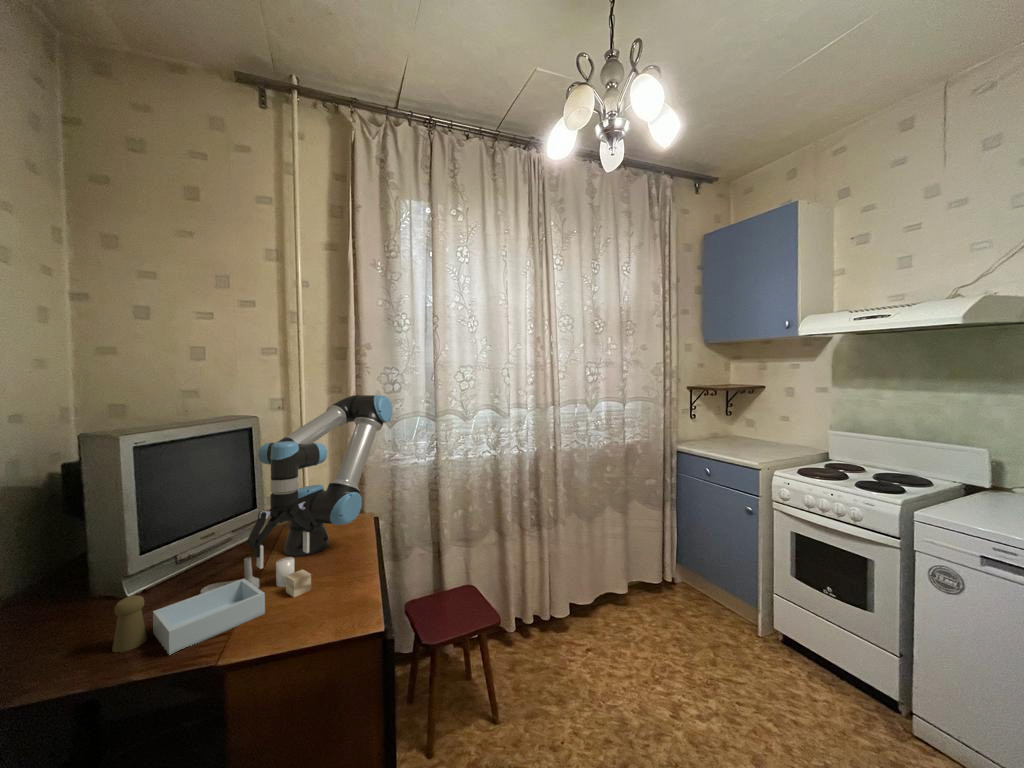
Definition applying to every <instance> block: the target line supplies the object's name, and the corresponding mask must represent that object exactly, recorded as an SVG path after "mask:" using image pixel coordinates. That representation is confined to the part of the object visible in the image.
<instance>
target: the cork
mask: <svg viewBox="0 0 1024 768" xmlns="http://www.w3.org/2000/svg"><path fill="white" fill-rule="evenodd" d="M144 606H145V599H144V597H143V596H142V595H131V596H128V597H124V598H122V599H121V600H119V601H118V602H117V603H116V604H115V606H114V611H113V612H114V614H115V616H116V617H117V620H116V624H115V632H114V637H113V643H112V649H111V650H112V653H115V652H116V653H117V652H120V653H125V652H128V651H132V650H133V649H134V650H135V649H136V648H138V647H140V646H142V645H143V644H145V643H146V641H147V640H148V636H147V630H146V625H145V621H144V615H143V610H142V609H143V607H144ZM141 644H142V645H141ZM131 649H132V650H131ZM117 654H118V653H117Z"/></svg>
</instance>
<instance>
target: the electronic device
mask: <svg viewBox="0 0 1024 768" xmlns="http://www.w3.org/2000/svg"><path fill="white" fill-rule="evenodd" d="M243 562H244V563H243V567H244V569H243V573H244V574H243V575H244V579H245V580H247V581H248V582H250V583H251V584H253V585H254V586H255V587H257V588H258V589H259V588H260V578H259V577H255V576H253V567H252V557H251V556H248V557H245V558H244V559H243ZM238 580H239V579H236V580H235V579H234V580H229V581H223V582H216V583H212V584H208V585H206V586H204V587H203V588H201V590H200V593H199V595H200V594H202V593H205V592H208V591H211V590H213V589H216V588H219V587H222V586H225V585H227V584H230V583H233V582H236V581H238Z"/></svg>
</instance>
